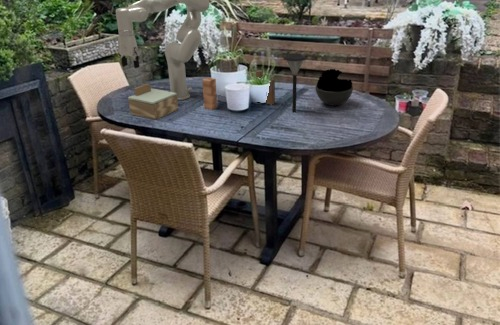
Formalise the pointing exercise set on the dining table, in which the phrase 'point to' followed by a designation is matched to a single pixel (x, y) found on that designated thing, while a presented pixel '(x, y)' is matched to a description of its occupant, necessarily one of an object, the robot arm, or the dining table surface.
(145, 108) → the toolbox
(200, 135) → the dining table surface
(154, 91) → the lid
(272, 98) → the wooden block
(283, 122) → the dining table surface
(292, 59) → the solar garden light
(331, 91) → the bowl of black rocks
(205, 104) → the key post
